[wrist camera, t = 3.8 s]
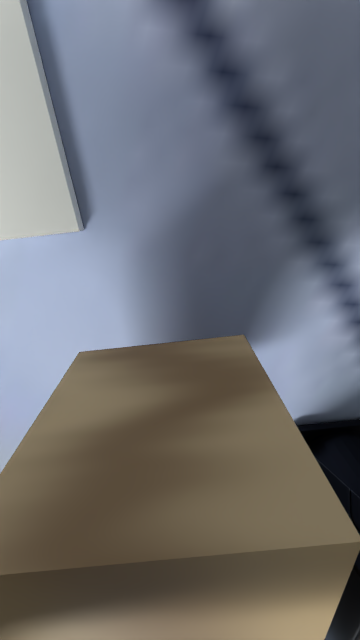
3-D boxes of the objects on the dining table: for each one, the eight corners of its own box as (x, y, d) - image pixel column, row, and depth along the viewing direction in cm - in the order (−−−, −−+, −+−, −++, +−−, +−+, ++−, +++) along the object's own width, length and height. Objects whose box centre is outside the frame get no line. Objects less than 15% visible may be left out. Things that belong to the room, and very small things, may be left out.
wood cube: (243, 334, 9) (363, 540, 3) (243, 448, 11) (310, 674, 6) (79, 352, 9) (-70, 580, 3) (114, 461, 11) (61, 695, 6)
